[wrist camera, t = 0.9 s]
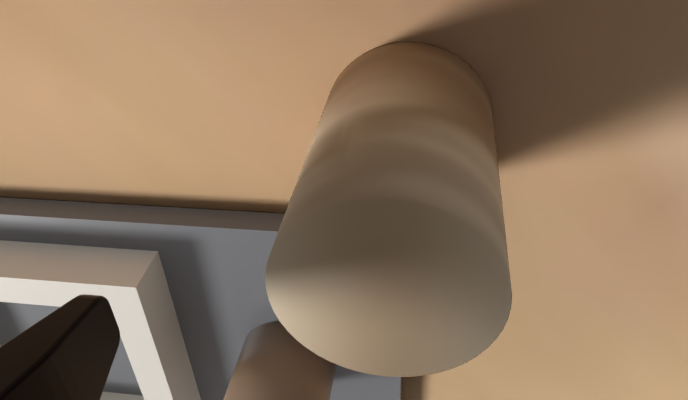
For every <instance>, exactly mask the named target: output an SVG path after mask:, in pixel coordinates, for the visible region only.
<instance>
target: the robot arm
mask: <svg viewBox="0 0 688 400" xmlns="http://www.w3.org/2000/svg"><path fill="white" fill-rule="evenodd" d="M119 342H120V330H119V327H118V325H117V322H116V319H115V317H114V314H113V311H112V309H111V306H110V303H109V301H108V300H107V299H106V298H105V297H104V296H98V295H86V294H83V295H79V296H76V297H75V298H73V299H72V300H70V301H69V302H67V303H66V304H64V305H63V306H61V307H59V308H58V309H56V310H55V311H53V312H52V313H50V314H49V315H47V316H46V317H44V318H43V319H41V320H40V321H38V322H37V323H35V324H34V325H32V326H31V327H29V328H28V329H26V330H25V331H23V332H22V333H20V334H19V335H17V336H16V337H14V338H13V339H11V340H10V341H8V342H7V343H5V344H4V345H2V346H1V347H0V400H100V398H101V395H102V392H103V389H104V387H105V384H106V381H107V378H108V375H109V372H110V369H111V367H112V364H113V361H114V358H115V355H116V352H117V349H118V346H119Z"/></svg>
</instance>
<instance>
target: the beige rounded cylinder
mask: <svg viewBox="0 0 688 400" xmlns="http://www.w3.org/2000/svg"><path fill="white" fill-rule="evenodd" d="M265 283H266V291H267V295H268V299H269V302H270V304H271V307H272V309H273V311H274V313H275V314H276V316H277V318H278V319H279V321H280V322H281V324H282V325H283V326H284V327H285V329H286V330H287V331H288V332H289V333H290V334H291V335H292V336H293V337H294V338H295V339H296V340H297V341H298V342H300V343H301V344H302V345H303V346H305V347H306V348H307V349H309V350H310V351H312V352H314V353H315V354H317V355H318V356H320V357H322V358H324V359H326V360H328V361H330V362H332V363H335V364H337V365H339V366H342V367H345V368H348V369H351V370H354V371H358V372H362V373H367V374H372V375H379V376H388V377H415V376H423V375H430V374H434V373H439V372H443V371H446V370H449V369H452V368H455V367H457V366H459V365H462V364H464V363H466V362H468V361H470V360H471V359H473V358H475V357H476V356H478V355H479V354H481V353H482V352H483V351H484V350H486V349H487V348H488V347H489V346H490V345H491V344H492V343H493V342H494V341H495V340H496V339H497V337H498V336H499V334H500V333H501V331H502V330H503V328H504V326H505V324H506V322H507V320H508V317H509V313H510V309H511V302H512V291H511V281H510V272H509V263H508V253H507V244H506V235H505V225H504V216H503V207H502V197H501V188H500V179H499V169H498V160H497V151H496V141H495V132H494V123H493V113H492V105H491V101H490V97H489V94H488V92H487V89H486V87H485V85H484V83H483V82H482V80H481V79H480V77H479V76H478V74H477V73H476V72H475V71H474V70H473V69H472V68H471V67H470V66H469V65H468V64H467V63H466V62H465V61H464V60H462V59H461V58H459V57H458V56H456V55H455V54H453V53H451V52H449V51H447V50H445V49H442V48H439V47H436V46H433V45H429V44H424V43H415V42H400V43H393V44H387V45H384V46H380V47H377V48H374V49H372V50H370V51H368V52H366V53H364V54H363V55H361V56H359V57H358V58H356V59H355V60H354V61H353V62H351V63H350V64H349V65H348V66H347V67H346V68H345V69H344V70H343V71H342V73H341V74H340V75H339V77H338V78H337V80H336V81H335V83H334V85H333V87H332V90H331V92H330V95H329V97H328V100H327V103H326V105H325V108H324V111H323V113H322V116H321V119H320V121H319V124H318V127H317V129H316V132H315V135H314V137H313V140H312V143H311V145H310V148H309V151H308V153H307V156H306V159H305V161H304V164H303V167H302V169H301V172H300V175H299V177H298V180H297V183H296V185H295V188H294V191H293V193H292V196H291V199H290V201H289V204H288V207H287V209H286V212H285V215H284V217H283V220H282V223H281V225H280V228H279V231H278V233H277V236H276V239H275V241H274V244H273V247H272V249H271V252H270V255H269V258H268V262H267V265H266V273H265Z"/></svg>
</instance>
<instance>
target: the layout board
mask: <svg viewBox="0 0 688 400" xmlns="http://www.w3.org/2000/svg"><path fill="white" fill-rule="evenodd" d="M284 215H285V214H282V213H265V212H247V211H230V210H213V209H195V208H178V207H161V206H143V205H126V204H109V203H91V202H74V201H57V200H39V199H22V198H5V197H0V347H1V346H2V345H4V344H5V343H7V342H8V341H10V340H11V339H13V338H14V337H16V336H17V335H19V334H20V333H22V332H23V331H25V330H26V329H28V328H29V327H31V326H32V325H34V324H35V323H37V322H38V321H40V320H41V319H43V318H44V317H46V316H47V315H49V314H50V313H52V312H53V311H55V310H56V309H58V308H59V307H61V306H63V305H64V304H66V303H67V302H69V301H70V300H72V299H73V298H75V297H76V296H79V295H83V294H86V295H98V296H104V297H105V298H106V299H107V300H108V301H109V303H110V306H111V309H112V311H113V314H114V317H115V319H116V322H117V325H118V327H119V330H120V342H119V346H118V349H117V352H116V355H115V358H114V361H113V364H112V367H111V369H110V372H109V375H108V378H107V381H106V384H105V387H104V389H103V392H102V395H101V398H100V400H402V377H388V376H379V375H372V374H367V373H362V372H358V371H354V370H351V369H348V368H345V367H342V366H339V365H337V364H335V363H332V362H330V361H328V360H326V359H324V358H322V357H320V356H318V355H317V354H315V353H314V352H312V351H310V350H309V349H307V348H306V347H305V346H303V345H302V344H301V343H300V342H298V341H297V340H296V339H295V338H294V337H293V336H292V335H291V334H290V333H289V332H288V331H287V330H286V329H285V327H284V326H283V325H282V324H281V322H280V321H279V319H278V318H277V316H276V314H275V313H274V311H273V309H272V307H271V304H270V302H269V299H268V295H267V291H266V283H265V273H266V265H267V262H268V258H269V255H270V252H271V249H272V247H273V244H274V241H275V239H276V236H277V233H278V231H279V228H280V225H281V223H282V220H283V217H284Z"/></svg>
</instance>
